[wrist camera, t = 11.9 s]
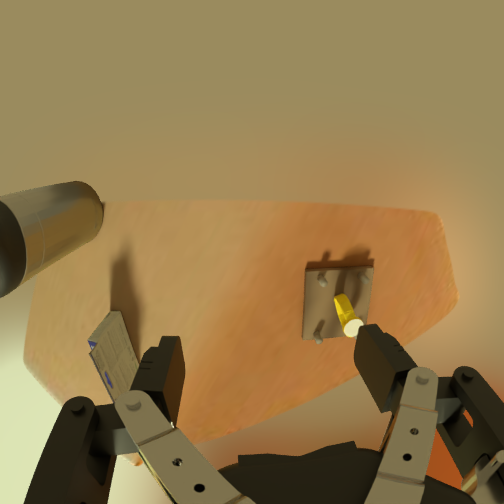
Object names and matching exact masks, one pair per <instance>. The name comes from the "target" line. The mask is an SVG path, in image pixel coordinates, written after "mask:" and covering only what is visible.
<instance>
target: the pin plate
mask: <svg viewBox="0 0 504 504" xmlns="http://www.w3.org/2000/svg"><path fill="white" fill-rule="evenodd" d="M373 273H374V267H372V266H355V267H337V268H317V269H305V282H304V305H303V323H302V339H303V340H313V339H315V341H316V343H317V344H321V343H322V342H323V340H322V339H324V338H334V337H343V336H346V335H345V334H344V332H343V330H342V325H341V322H340V320H339V317H338V313H337V310H336V306H335V302H334V297H335V296H337V295H340V294H342V293H343V294H345V295H346V296H347V298H348V299H349V301H350V303H351V306H352V308H353V311H354V313H355V316H356V317H359V318H360V319H361V320H362V322H363V325H366V323H367V317H368V310H369V304H370V297H371V289H372V281H373ZM354 337H355V339H357V335H356V336H354Z"/></svg>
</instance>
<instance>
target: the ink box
mask: <svg viewBox="0 0 504 504" xmlns="http://www.w3.org/2000/svg"><path fill="white" fill-rule="evenodd" d="M88 342H89V345H90V347H91V349H92V351H91V352H90V353H89V356H90V357H91V359H92V361H93V363H94V365H95V367H96V369H97V371H98V373H99V375H100V377H101V379H102V381H103V383H104V385H105V388H106V390H107V392H108V394H109V395H110V397H111V399H112V401H113V403H115V401H116V399H117V398H118V397H119V396H120V395H121V394H123V393H125V392H127V391H129V390H130V387H131V385H132V382H133V380H134V377H135V375H136V372H137V369H138V367H139V363H138V361H137V358H136V355H135V353H134V350H133V347H132V344H131V342H130V339H129V336H128V333H127V330H126V327H125V324H124V321H123V317H122V314H121V312H120V311H110V312H109V313H108V314H107V315H106V317H105V318H104V319H103V321H102V322H101V323H100V324H99V326H98V327H97V328H96V330H95V331H94V332H93V333H92V335H91V336H90V337H89V339H88Z"/></svg>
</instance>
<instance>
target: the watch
mask: <svg viewBox="0 0 504 504" xmlns="http://www.w3.org/2000/svg"><path fill="white" fill-rule="evenodd" d="M334 302H335V306H336V310H337V313H338V317H339V320H340V322H341V325H342V330H343V332H344V334H345V335H346V336H348V337H349V338H350V337H353V336H356V335H357V334H358V329H359V327H360V326H361V325H363V322H362V320H361V319H360V318H359V317H356V316H355V313H354V311H353V308H352V306H351V303H350V301H349V299H348V298H347V296H346V295H345V294H343V293H342V294H340V295H337V296H335V297H334Z"/></svg>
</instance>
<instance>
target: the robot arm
mask: <svg viewBox="0 0 504 504" xmlns="http://www.w3.org/2000/svg"><path fill="white" fill-rule="evenodd" d="M102 219H103V210H102V204H101V201H100V199H99V196H98V195H97V193H96V192H95V191H94V190H93V188H92V187H91V186H89V185H88V184H86V183H83V182H79V181H73V182H68V183H61V184H55V185H49V186H45V187H40V188H34V189H30V190H25V191H20V192H16V193H12V194H8V195H4V196H0V298H1V297H3V296H5V295H7V294H8V293H10V292H11V291H13V290H14V289H16V288H17V287H18V286H20V285H21V284H23V283H24V282H26V281H27V280H29V279H30V278H32V277H33V276H34V275H36V274H38V273H39V272H41V271H42V270H44V269H45V268H47V267H48V266H50V265H52V264H53V263H55V262H56V261H58V260H60V259H61V258H63V257H64V256H66V255H68V254H69V253H71V252H73V251H74V250H76V249H78V248H79V247H81V246H83V245H84V244H86V243H88V242H89V241H91V240H92V239H93V238H94V237H95V236H96V235H97V234H98V232H99V230H100V228H101V225H102ZM354 362H355V365H356V367H357V369H358V371H359V373H360V375H361V376H362V378H363V380H364V382H365V384H366V385H367V387H368V389H369V391H370V393H371V395H372V397H373V399H374V400H375V402H376V404H377V406H378V408H379V410H380V412H381V413H383V412H387V411H391V412H392V416H391V418H390V421H389V424H388V426H387V429H386V432H385V435H384V437H383V440H382V443H381V445H380V448H379V450H378V451H375V450H372V449H366V448H357V447H356V445H355V442H354V441H350V442H346V443H341V444H336V445H331V446H326V447H324V448H321V449H319V450H316V451H314V452H311V453H308V454H305V455H302V456H287V455H276V454H254V455H238V463H235V464H232V465H229V466H226V467H224V468H221V469H219V470H216V469H215V468H214V467H213V466H212V465H211V464H210V463H209V462H208V461H207V460H206V459H205V457H203V455H202V454H201V453H200V452H199V451H198V450H197V449H196V448H195V447H194V445H193V444H192V443H191V442H190V441H189V440H188V438H187V437H186V436H185V435H184V434H183V433H182V431H181V430H180V429H179V428H177V427H176V423H177V417H178V412H179V406H180V401H181V395H182V390H183V384H184V379H185V362H184V357H183V351H182V346H181V340H180V337H179V336H162V338H161V340H160V343H159V346H158V347H150V348H149V349H148V350H147V351H146V352H145V353H144V355H143V357H142V360H141V363H140V364H139V367H138V369H137V372H136V375H135V377H134V380H133V382H132V385H131V387H130V390H129V391H127V392H125V393H123V394H121V395H120V396H119V397H118V398H117V399H116V401H115V403H113V404H107V405H98V406H95V405H94V403H93V401H92V400H91V399H89V398H87V397H83V396H78V397H74V398H71V399H69V400H68V401H67V402H66V403H65V404H64V405H63V407H62V409H61V411H60V413H59V415H58V418H57V420H56V422H55V424H54V426H53V429H52V431H51V433H50V436H49V438H48V440H47V442H46V445H45V447H44V450H43V452H42V455H41V457H40V460H39V462H38V465H37V467H36V470H35V472H34V475H33V478H32V481H31V484H30V486H29V489H28V492H27V495H26V498H25V501H24V504H107V503H108V497H109V492H110V487H111V482H112V477H113V472H114V467H115V463H116V458H117V455H121V454H129V453H136V452H137V453H138V454H139V456H140V457H141V459H142V460H143V462H144V463H145V465H146V466H147V468H148V470H149V471H150V473H151V474H152V475H153V477H154V478H155V480H156V481H157V483H158V484H159V486H160V487H161V488H162V490H163V491H164V493H165V494H166V496H167V497H168V498H169V500H170V501H171V502H172V504H504V403H503V402H502V401H501V399H500V398H499V397H498V395H497V394H496V393H495V392H494V391H493V389H492V388H491V387H490V386H489V384H488V383H487V382H486V381H485V380H484V378H483V377H482V376H481V375H480V374H479V373H478V372H477V371H476V370H475V369H473V368H471V367H467V366H461V367H458V368H457V369H456V370H455V371H454V374H453V376H452V377H438V376H437V375H436V373H435V372H434V371H432V370H430V369H428V368H425V367H418V366H417V365H416V363H415V362H414V361H413V360H412V358H411V357H410V356H409V355H408V353H407V352H406V351H404V348H403V347H402V346H400V343H399V342H398V341H397V340H396V339H395V338H394V337H393V336H391V335H390V334H388V333H383V332H382V330H381V329H380V328H379V327H378V325H377V324H369V325H361V326H360V327H359V329H358V334H357V339H356V345H355V350H354ZM465 410H467V411H468V413H469V414H470V416H471V417H472V419H473V428H472V427H471V425H470V424H469V422H468V420H467V419H466V417H465V416H464V415H463V413H464V411H465ZM435 429H437V431H438V432H439V434H440V436H441V437H442V440H443V441H444V443H445V445H446V447H447V449H448V451H449V452H450V454H451V456H452V458H453V460H454V462H455V464H456V466H457V468H458V469H459V472H460V474H461V476H462V478H463V480H462V483H461V488H462V490H459V489H457V488H455V487H452V486H450V485H448V484H445V483H443V482H441V481H438V480H436V479H434V478H432V477H430V476H428V475H425V474H426V470H427V466H428V463H429V458H430V454H431V449H432V445H433V440H434V435H435Z"/></svg>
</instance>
